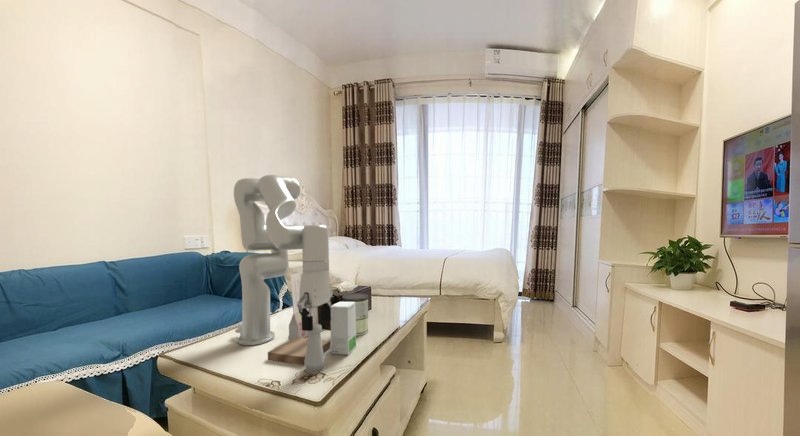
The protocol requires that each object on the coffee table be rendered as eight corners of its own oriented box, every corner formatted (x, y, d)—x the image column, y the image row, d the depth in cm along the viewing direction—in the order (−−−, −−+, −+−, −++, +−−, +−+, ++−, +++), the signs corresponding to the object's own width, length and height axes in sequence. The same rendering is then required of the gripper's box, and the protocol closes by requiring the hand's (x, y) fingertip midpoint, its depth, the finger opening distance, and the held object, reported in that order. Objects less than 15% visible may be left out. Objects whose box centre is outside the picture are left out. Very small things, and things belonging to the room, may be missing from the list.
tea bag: (288, 341, 115) (288, 313, 115) (300, 335, 121) (300, 309, 121) (297, 342, 113) (297, 314, 114) (308, 336, 120) (308, 310, 120)
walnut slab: (267, 360, 98) (267, 352, 98) (295, 344, 112) (295, 337, 112) (306, 365, 94) (306, 357, 94) (330, 348, 108) (330, 340, 108)
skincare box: (348, 355, 101) (347, 307, 102) (329, 354, 103) (328, 306, 103) (356, 346, 109) (356, 301, 110) (339, 344, 111) (338, 300, 111)
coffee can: (338, 335, 120) (338, 298, 120) (347, 326, 130) (346, 292, 131) (365, 336, 119) (364, 299, 119) (371, 327, 129) (371, 293, 129)
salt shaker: (305, 375, 88) (305, 329, 88) (303, 367, 93) (302, 323, 94) (326, 371, 90) (326, 326, 91) (322, 363, 96) (322, 320, 96)
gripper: (320, 263, 102) (321, 316, 101) (286, 270, 86) (287, 333, 85) (341, 263, 100) (342, 317, 99) (310, 270, 83) (311, 335, 83)
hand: (317, 325), depth 92 cm, fingers open, 9 cm apart
